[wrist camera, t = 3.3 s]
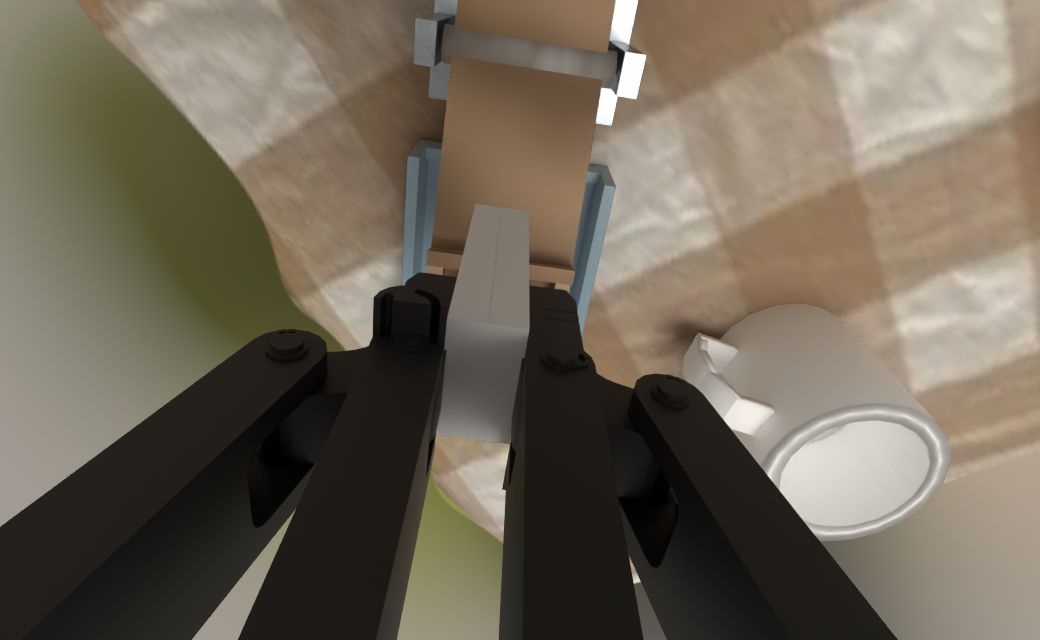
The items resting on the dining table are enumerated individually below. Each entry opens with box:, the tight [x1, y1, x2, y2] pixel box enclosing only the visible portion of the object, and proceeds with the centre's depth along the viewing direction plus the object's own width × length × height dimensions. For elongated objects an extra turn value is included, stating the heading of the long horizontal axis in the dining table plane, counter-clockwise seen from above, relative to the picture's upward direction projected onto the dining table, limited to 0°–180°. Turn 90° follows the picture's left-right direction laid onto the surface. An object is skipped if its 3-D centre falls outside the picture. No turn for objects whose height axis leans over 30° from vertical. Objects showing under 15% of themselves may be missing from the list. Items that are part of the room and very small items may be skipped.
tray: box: [402, 139, 616, 337], centre depth 36 cm, size 14×11×4 cm
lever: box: [426, 0, 617, 293], centre depth 25 cm, size 24×7×10 cm, turn 171°
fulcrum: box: [413, 0, 646, 125], centre depth 27 cm, size 6×9×10 cm, turn 82°
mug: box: [682, 303, 951, 541], centre depth 36 cm, size 14×10×11 cm
